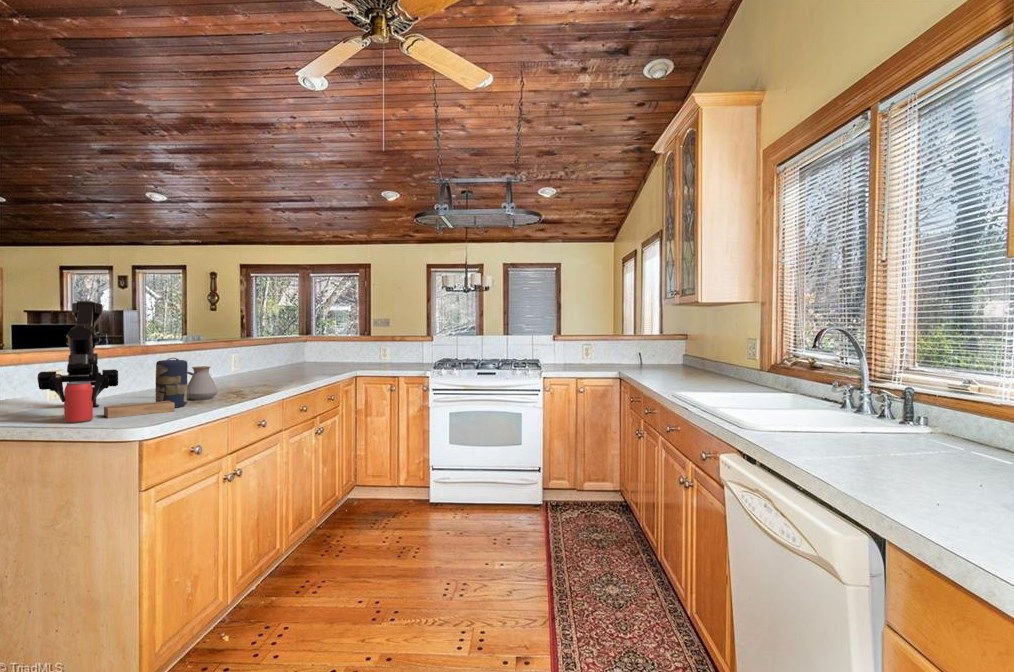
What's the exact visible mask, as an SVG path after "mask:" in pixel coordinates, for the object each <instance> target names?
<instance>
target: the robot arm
mask: <svg viewBox="0 0 1014 672" xmlns="http://www.w3.org/2000/svg"><path fill="white" fill-rule="evenodd" d="M103 307H104V306H103V304H102V303H99V302H94V301H93V300H91V301H90V300H86V301H85V300H80V301H76V302H72V303H71V314H72V315H73V316H74V319H75V322H76V324H75V326H72V327H71V328H70V330H68V332H67V334H66V336H65V343H66V345H67V346H68V349H69V350H70V351H69V355H68V363H67V367H66V373H67V374H61V373H57V371H56V370H55V371H54V370H53V371H51V370H50V371H49V370H48V371H40V372H38V374H37V384H38V389H39V390H41V391H43V390H49V391H50V392H55V393H56V394H57V396H58V397H59V398H60V401H61V402H62V403H64V386H63V383H68V382H78V381H89V382H91V385H92V388H93V398H92V399H93V408H95V407H96V408H97V407H98V406H99V407H100V404H98V403H97V397H98V396H99V394H100V393H102V392H103V390H105V389H108V388H109V387H117V386H119V370H117V369H102V372H99V371H100V370H99V366H98V365H99V364H98V357H99V356H98V353H95V348H96V346H98V345H99V343H100V342H101V337H100V336H99V334H96V328H95V327H96V326H97V325H98V324H99V323H100V322H101V316H103V315H104V313H103V311H104V309H103Z"/></svg>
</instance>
